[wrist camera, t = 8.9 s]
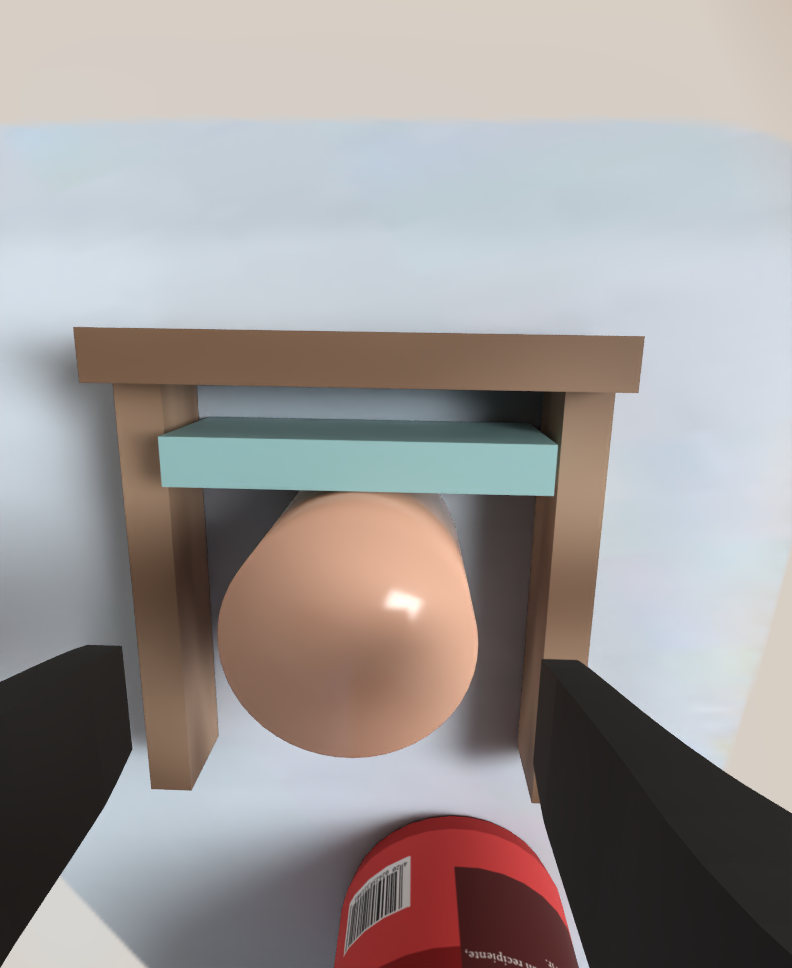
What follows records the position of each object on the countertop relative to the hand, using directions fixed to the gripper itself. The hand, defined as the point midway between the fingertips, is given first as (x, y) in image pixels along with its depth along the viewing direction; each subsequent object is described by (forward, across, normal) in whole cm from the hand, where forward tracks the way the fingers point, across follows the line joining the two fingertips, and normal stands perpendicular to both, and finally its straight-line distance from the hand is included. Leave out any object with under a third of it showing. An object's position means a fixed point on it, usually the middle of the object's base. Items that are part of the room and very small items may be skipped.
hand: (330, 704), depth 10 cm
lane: (+8, 0, +1) cm, 8 cm away
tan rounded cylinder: (+8, 0, 0) cm, 8 cm away
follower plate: (+8, 0, -3) cm, 9 cm away
